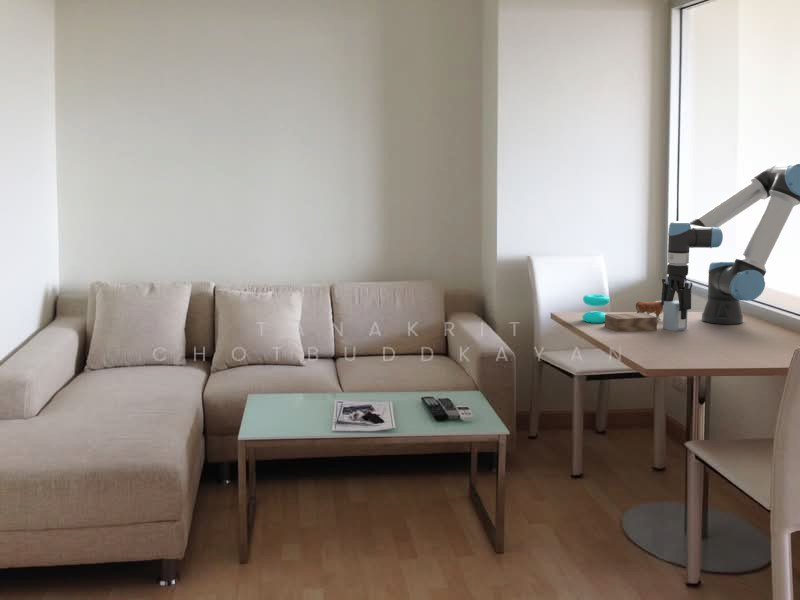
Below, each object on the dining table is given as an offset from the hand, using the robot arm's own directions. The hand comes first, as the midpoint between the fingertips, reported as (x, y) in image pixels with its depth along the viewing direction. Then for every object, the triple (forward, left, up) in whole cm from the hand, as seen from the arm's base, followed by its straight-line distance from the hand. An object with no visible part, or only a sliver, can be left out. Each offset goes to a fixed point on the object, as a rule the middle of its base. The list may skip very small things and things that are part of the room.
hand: (674, 326), depth 354 cm
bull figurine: (-5, -18, -1) cm, 19 cm away
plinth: (+14, -8, -1) cm, 16 cm away
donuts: (+17, -25, -1) cm, 30 cm away
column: (0, 0, -1) cm, 1 cm away
